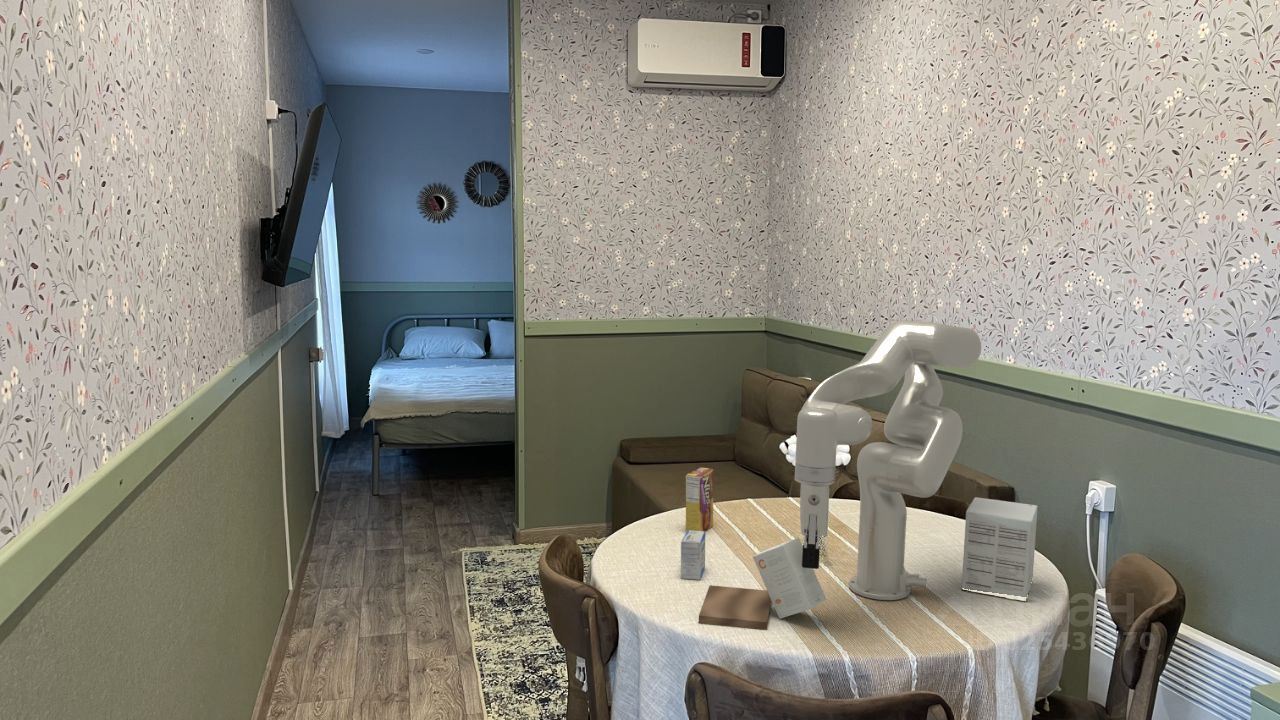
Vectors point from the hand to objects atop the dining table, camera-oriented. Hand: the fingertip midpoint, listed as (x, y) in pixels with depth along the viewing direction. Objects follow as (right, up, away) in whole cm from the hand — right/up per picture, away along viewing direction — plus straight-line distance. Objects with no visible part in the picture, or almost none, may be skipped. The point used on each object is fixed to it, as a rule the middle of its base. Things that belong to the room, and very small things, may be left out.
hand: (810, 566), depth 173 cm
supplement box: (+44, -9, +21) cm, 50 cm away
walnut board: (-13, -10, +7) cm, 18 cm away
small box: (-1, -9, +2) cm, 9 cm away
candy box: (-18, -4, +57) cm, 60 cm away
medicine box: (-21, -8, +26) cm, 35 cm away
